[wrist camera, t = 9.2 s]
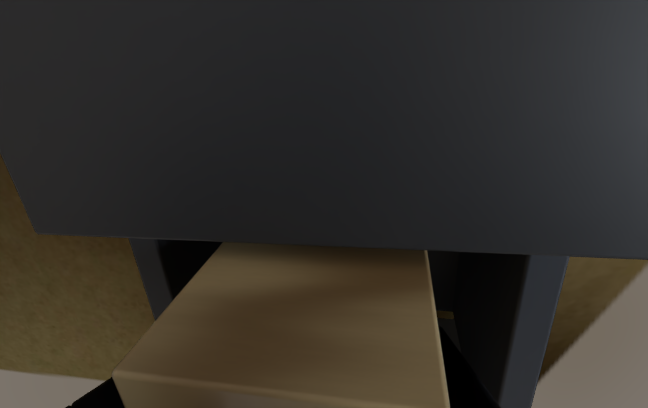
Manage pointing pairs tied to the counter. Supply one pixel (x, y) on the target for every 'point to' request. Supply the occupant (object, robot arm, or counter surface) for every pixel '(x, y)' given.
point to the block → (294, 333)
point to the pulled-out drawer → (449, 294)
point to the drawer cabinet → (332, 122)
